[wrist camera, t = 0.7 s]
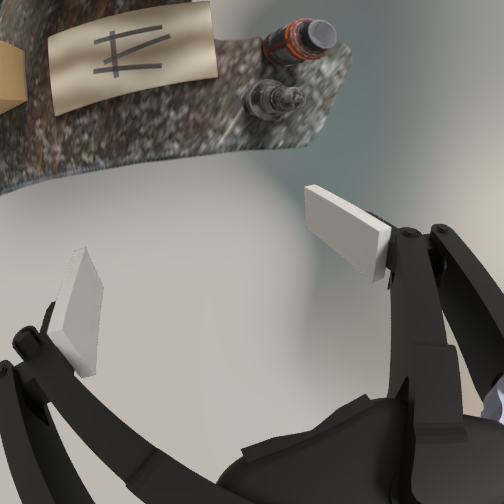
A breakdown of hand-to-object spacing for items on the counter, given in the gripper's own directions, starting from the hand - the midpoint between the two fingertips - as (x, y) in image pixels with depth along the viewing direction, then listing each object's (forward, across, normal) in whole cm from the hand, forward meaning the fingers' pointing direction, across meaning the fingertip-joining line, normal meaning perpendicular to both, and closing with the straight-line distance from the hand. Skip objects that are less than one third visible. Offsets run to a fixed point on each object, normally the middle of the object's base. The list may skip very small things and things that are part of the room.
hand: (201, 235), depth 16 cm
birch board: (+25, -2, +16) cm, 30 cm away
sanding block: (+25, -20, +19) cm, 38 cm away
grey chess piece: (+25, +14, +6) cm, 30 cm away
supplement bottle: (+25, +18, +14) cm, 34 cm away
